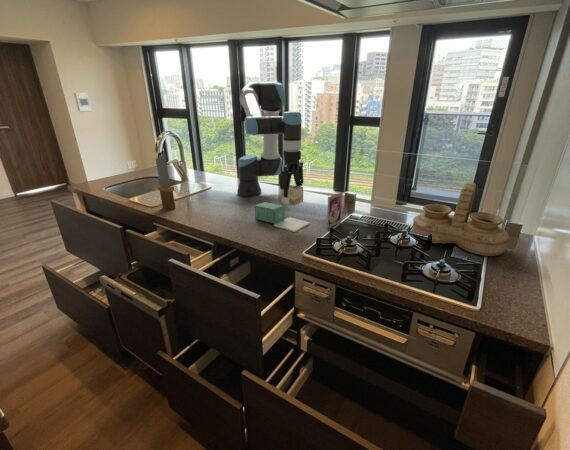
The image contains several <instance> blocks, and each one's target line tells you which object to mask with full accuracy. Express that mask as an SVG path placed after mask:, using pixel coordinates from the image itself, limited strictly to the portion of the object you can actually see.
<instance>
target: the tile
mask: <svg viewBox="0 0 570 450" xmlns="http://www.w3.org/2000/svg"><path fill="white" fill-rule="evenodd" d="M310 223H311V222H310V221H305V220H302V219H300V218H299V219H298V218H294V217H287V218H285V219H284V220H283V221H281V222H278V223H276V224H273V226H274V227H277V228H279V229H282V230H286V231H290V232H294V233H297V232H298V231H300V230H302V229H304V228H306V227H307V226H309V225H310Z"/></svg>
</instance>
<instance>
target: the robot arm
mask: <svg viewBox="0 0 570 450" xmlns="http://www.w3.org/2000/svg"><path fill="white" fill-rule="evenodd" d="M285 93H286V92H285V89H284V85H283V84H282V83H281V82H275V81H266V82H265V81H263V82H262V81H261V82H260V81H259V82H258V81H257V82H255V81H254V82H250V83H248V84H246V85H245V86H243V88H242V89H240V92H239V98H238V99H239V103H240V105H241V106H242V107H243V110H244V113H245V115H246V117H245V118H244V129H245V134H246V135H248V136H249V135H250V136H256V135H257V136H261V135H263V141H262V142H263V143H262V145H263V149H262V150H263V151H262V153H261V154H260V156H259V157H258V155H256V154H248V155H244V156H242V157H240V158H238V161H237V167H238V178H239V182H238V186H237V187H238V188H237V191H236V194H237V195H238V196H240V197H245V198H246V197H257V196H260V195H261V194H262V188H261V186H260V183H259V177H274V176H275V177H276V176H279V175H280V182H279V185H280V186H279V188H280V190H281V189H283V190H284V203H285V205H288V204H290V190H289V185H291V180H292V176H293V179H294V183H295V184H294V185H295V186H301V187H303V184H304V169H303V166H304V162H303V161H300V160H301V159H302V151H301V149H302V121H303V120H302V113H301V112H300V111H284V112H283V115H279V113H280V112H281V111H282V109H283V108H282V107H284V106H285V105H286V94H285ZM279 135H283V137H282V140H283V157H281V154H280V153H279V152H278V147H279V146H278V143H279ZM283 160H284V161H285V162H284V165H283ZM284 203H283V204H284Z"/></svg>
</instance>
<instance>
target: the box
mask: <svg viewBox="0 0 570 450" xmlns="http://www.w3.org/2000/svg"><path fill="white" fill-rule="evenodd" d="M285 211H286V210H285V206H284V205H280V204H276V203H272V202H271V203H270V202H268V201H267V202H266V201H264V202H261V203H257V204H254V214H255V216H254V217H255V220H258V221H262V222H266V223H270V224H273V225H274V224H276V223H278V222H281V221H283V220H285V219H286V217H285V216H286V215H285V214H286V213H285Z"/></svg>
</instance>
